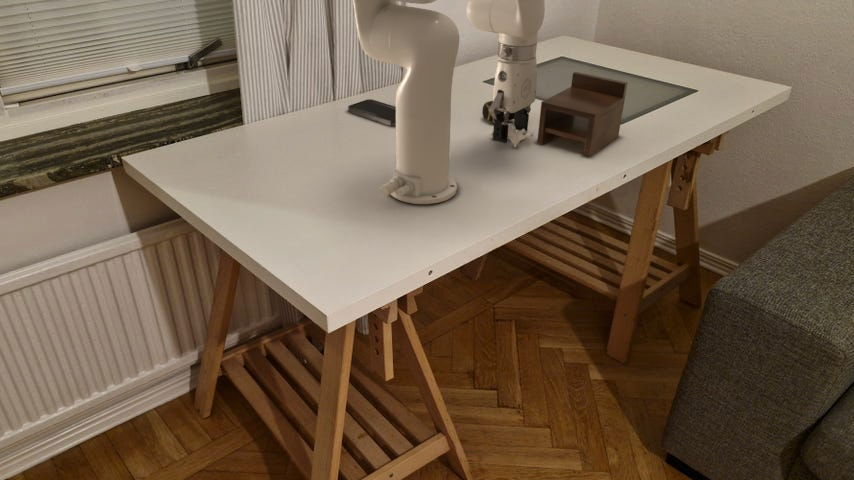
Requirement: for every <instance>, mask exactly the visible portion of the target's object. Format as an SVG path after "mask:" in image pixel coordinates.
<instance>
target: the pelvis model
mask: <svg viewBox="0 0 854 480" xmlns="http://www.w3.org/2000/svg"><path fill="white" fill-rule="evenodd" d="M507 124H508V138H507V139H508V140H509V141H511V142H512V144H513V145H514V146H513V147H514V148H517V146H518V144H519V143H520V142H521V141H523V140H524V139H525V140H528V139H530V138H531V137H533V136H534V133H533V132H530V131H526V132H525V129H522V130H516V127H515V125H514V123H507ZM523 133H524V134H523ZM489 134H490V136H491V137H492V138H493V130H492V131H490V133H489Z"/></svg>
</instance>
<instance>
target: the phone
mask: <svg viewBox="0 0 854 480" xmlns="http://www.w3.org/2000/svg"><path fill="white" fill-rule="evenodd" d="M347 112H348V113H351V114H354V115H357V116H360V117H363V118H365V119H368V120H372V121H375V122H377V123H380V124H383V125H386V126H390V127H394V126H395V127H396V105H395V106H394V105H391V104H388V103H385V102H382V101H378V100H376V99H369V98H368V99H365V100H361V101H359V102H355V103H352V104H349V105H348V107H347Z"/></svg>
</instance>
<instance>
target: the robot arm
mask: <svg viewBox="0 0 854 480" xmlns="http://www.w3.org/2000/svg"><path fill="white" fill-rule="evenodd" d="M436 1H437V0H352V4H353V10H354V17H355V18H354V19H355V26H356V31H357V37H358V41H359V44H360V46H361V49H362V51H363V52H364V53H365V55H366V56H368V57H369V58H371V59H373V60H375V61H378V62H382V63H384V64H389V65H393V66H397V67H400V68H403V69H405V70H406V71H405V72H406V73H405V75H404V76H403V78H402V80H401V81H400V83H399V85H398V87H397V89H396V92H395V101H394V102H395V107H396V125H395V154H396V156H395V159H396V160H395V161H396V162H395V163H396V164H395V165H396V166H395V167H396V169H395V170H394V171H393V172H392V173H393V174H392V175H393V177H391V178H390V180H389V181H388V182H387V183H385V184H383V185H381V186H380V188H379V192H380V193H381V194H382V196H383V197H388V196H390V195H391V196H392V197H393V198H395V199H396V200H399V201H400V202H404V203H408V204H413V205H432V204H437V203H442V202H445V201H448V200H450V199H451V198H453V196H455V194H456V193H457V192H458V191H457V190H458V184H457V181H456V180H455V179H454V178H453V177H452V176H450V150H451V119H452V118H451V117H452V115H451V114H452V87H453V77H454V73H455V72H454V70H455V65H456V62H457V56H458V53H459V48H460V33H459V29H458V26H457V25H456V23H455V21H454V20H453V19H452V18H450V17H449V16H448V15H446V14H444V13H442V12H439V11H436V10H432V9H426V8H421V7H415V6H408V5H402V4H398V2H403V3H408V4H419V5H426V4H432V3H433V2H436ZM545 9H546V7H545V0H468V1H467V4H466V11H465V12H466V17H467V20H468V22H469V23H470V25H471V26H473V28H475V29H477V30H480V31H484V32H488V33H495V34H498V45H497V64H496V70H495V73H494V74H495V75H494V82H493V92H492V101H493V103H492V104H491V106H490V108H489V112H490V114H491V118H492V119H493V122H492V123H493V130H492V131H493V137H492V140H493V141H495V142H499V143H502V144H506V143H508V139H509V138H508V124H509V123H508V118H509V115H510V113H515V115H514V119H513V124H514V125H515V127H516V131H517V130H522V129H525V132H524V133H527V132H528V128H529V118H530V112H531V110H532V109H531V105H532V104H533V103H534V102H535V101H536V97H537V86H538V85H537V84H538V83H537V81H538V64H537V49H538V48H537V47H538V37H539V36H538V34H539V31H540V29H541V27H542V25H543V23H544V19H545V11H546V10H545ZM503 106H505V108H506V109H504V108H501V107H503ZM500 112H505V114H504V117H502V115H501V114H500Z"/></svg>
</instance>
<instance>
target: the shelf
mask: <svg viewBox="0 0 854 480" xmlns="http://www.w3.org/2000/svg"><path fill="white" fill-rule="evenodd" d="M627 89H628V82H626V81H622V80H618V79H612V78H607V77H602V76H598V75H593V74H588V73H583V72H578V71H573V72H572V77H571V85H570V87H567V88H566V89H563V90H562V91H560V92H558V93H556V94H554V95H552V96H550V97H549V98H546V99H544V100H542V101H541V104H540V112H539V123H538V131H537V132H538V133H537V141H536V142H537V144H539V145H543V144H545V143H547V142H549V141H550V140H552V139H554V138H556V137H557V136H559V137H562V138H567V139H571V140H573V141H574V140H575V141H578V142H582V143H584V150H583V156H584V157H586V158H590V157H591V156H593V155H594V154H596V153H598V152H599V151H601V150H602V149H603V148H605V147H606V146H608V145H609V144H610V143H612V142H613V141H615V140H616V139H618V138H619V135H620V129H621V123H622V117H623V111H624V106H625V100H626V94H627Z"/></svg>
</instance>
